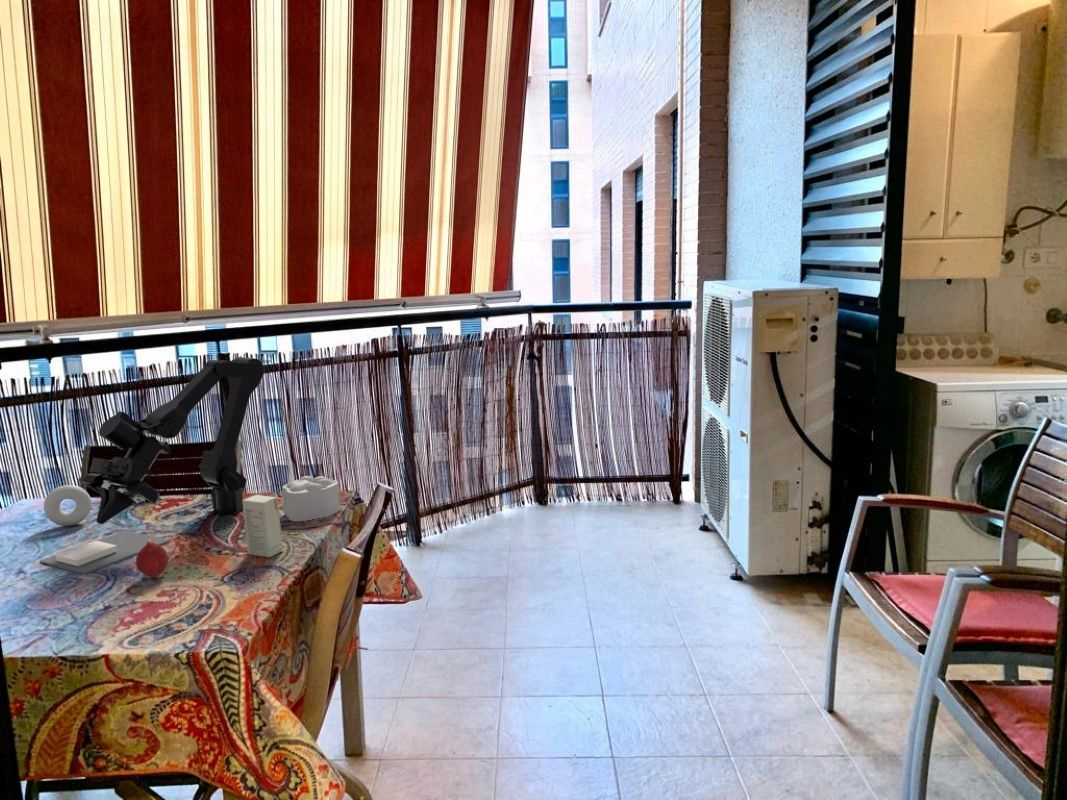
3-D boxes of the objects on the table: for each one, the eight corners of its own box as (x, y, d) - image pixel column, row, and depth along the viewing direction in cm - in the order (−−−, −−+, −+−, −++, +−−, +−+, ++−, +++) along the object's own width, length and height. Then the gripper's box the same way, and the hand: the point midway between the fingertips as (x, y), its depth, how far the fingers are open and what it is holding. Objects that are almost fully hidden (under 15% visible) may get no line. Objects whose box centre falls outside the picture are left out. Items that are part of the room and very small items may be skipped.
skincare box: (283, 551, 171) (279, 497, 169) (269, 558, 167) (264, 503, 165) (261, 547, 174) (256, 493, 171) (246, 554, 170) (241, 499, 168)
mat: (125, 532, 185) (125, 530, 184) (169, 541, 178) (169, 540, 178) (39, 562, 167) (39, 560, 167) (85, 574, 160) (84, 572, 160)
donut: (94, 519, 194) (89, 480, 192) (94, 524, 190) (89, 484, 189) (47, 526, 189) (41, 486, 187) (45, 531, 186) (40, 490, 184)
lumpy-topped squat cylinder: (281, 512, 197) (278, 478, 195) (333, 503, 204) (331, 470, 202) (292, 524, 188) (289, 489, 187) (345, 514, 195) (343, 480, 193)
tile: (95, 540, 174) (55, 554, 166) (116, 545, 171) (76, 560, 163) (96, 547, 174) (56, 561, 166) (117, 552, 171) (77, 567, 163)
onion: (176, 573, 160) (172, 536, 158) (154, 585, 155) (150, 546, 153) (153, 570, 162) (149, 533, 160) (131, 581, 157) (126, 543, 155)
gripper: (84, 438, 176) (42, 500, 168) (140, 446, 167) (98, 511, 160) (121, 463, 184) (82, 523, 177) (176, 472, 176) (138, 535, 168)
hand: (99, 523), depth 170 cm, fingers closed
